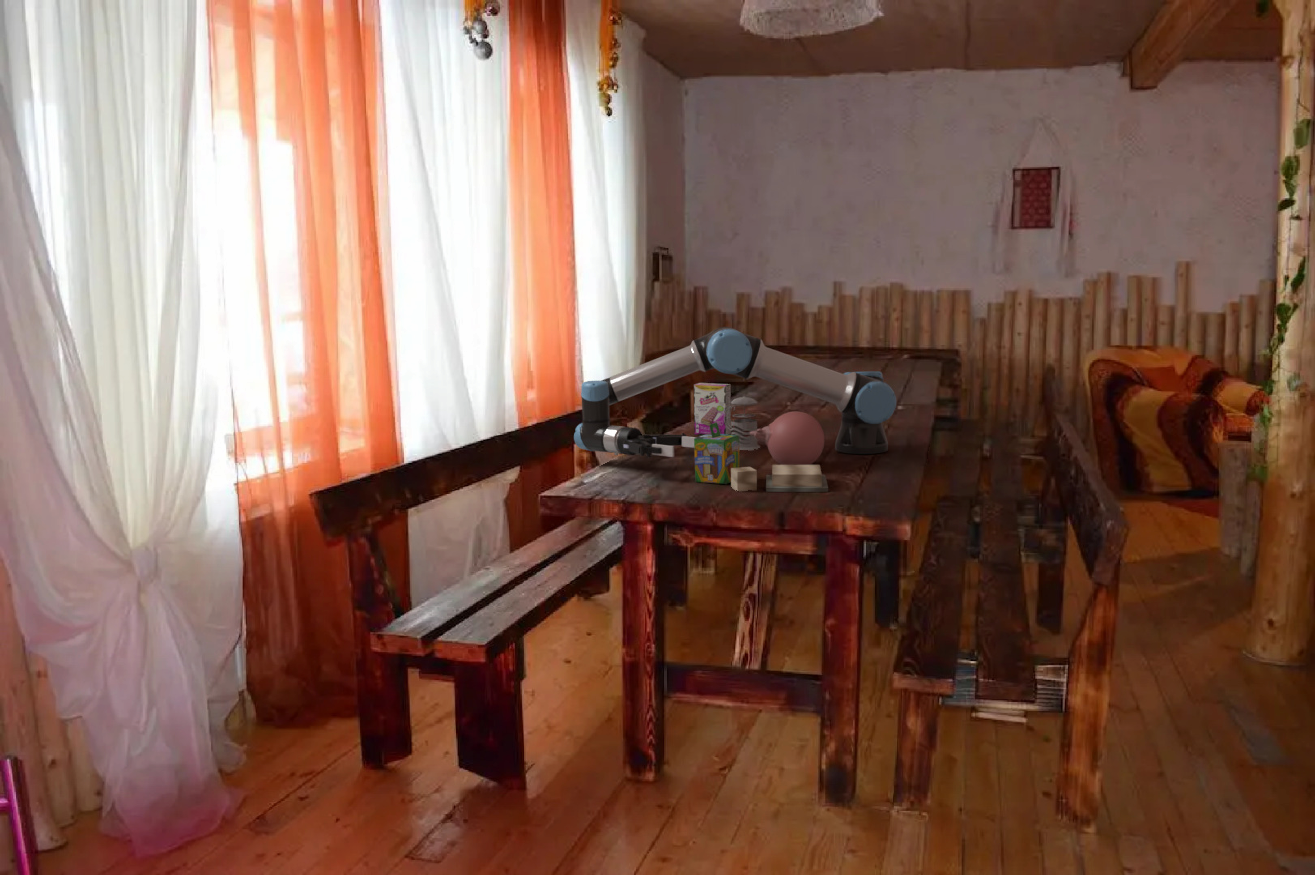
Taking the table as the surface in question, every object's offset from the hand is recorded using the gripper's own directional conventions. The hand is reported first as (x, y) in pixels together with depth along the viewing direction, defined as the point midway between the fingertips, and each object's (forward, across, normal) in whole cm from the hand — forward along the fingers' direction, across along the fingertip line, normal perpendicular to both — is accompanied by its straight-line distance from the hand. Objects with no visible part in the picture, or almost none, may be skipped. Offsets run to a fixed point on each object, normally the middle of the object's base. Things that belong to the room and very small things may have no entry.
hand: (688, 447), depth 280 cm
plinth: (+29, -5, -8) cm, 31 cm away
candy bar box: (-31, -58, -8) cm, 66 cm away
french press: (-10, -43, -8) cm, 45 cm away
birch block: (+20, +5, -8) cm, 22 cm away
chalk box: (+9, 0, -8) cm, 12 cm away
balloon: (+16, -23, -8) cm, 29 cm away
